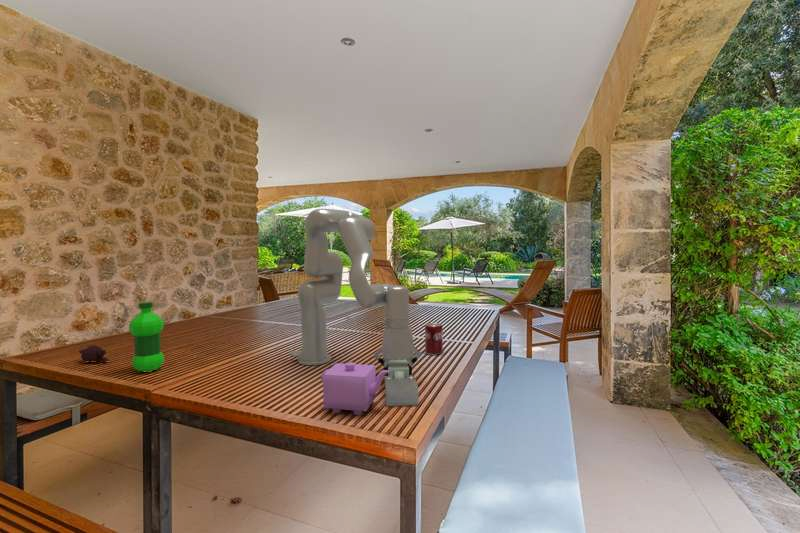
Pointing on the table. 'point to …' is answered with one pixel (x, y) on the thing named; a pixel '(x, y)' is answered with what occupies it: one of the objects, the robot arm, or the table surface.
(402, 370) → the sage hinge leaf
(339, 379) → the teapot
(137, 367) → the plastic bottle
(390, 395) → the steel hinge leaf
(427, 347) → the soda can
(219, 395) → the table surface
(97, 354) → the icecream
